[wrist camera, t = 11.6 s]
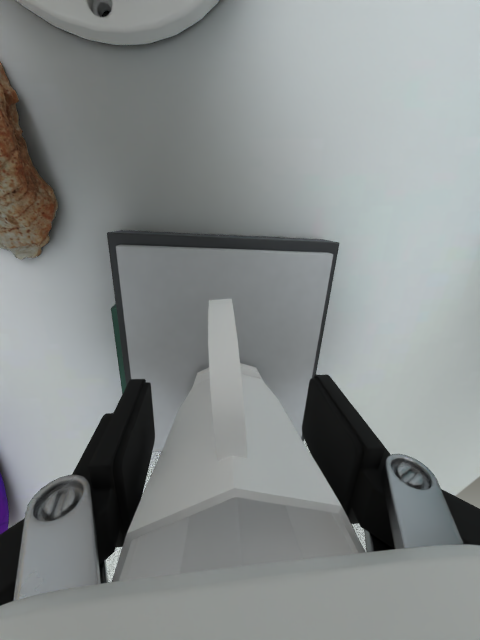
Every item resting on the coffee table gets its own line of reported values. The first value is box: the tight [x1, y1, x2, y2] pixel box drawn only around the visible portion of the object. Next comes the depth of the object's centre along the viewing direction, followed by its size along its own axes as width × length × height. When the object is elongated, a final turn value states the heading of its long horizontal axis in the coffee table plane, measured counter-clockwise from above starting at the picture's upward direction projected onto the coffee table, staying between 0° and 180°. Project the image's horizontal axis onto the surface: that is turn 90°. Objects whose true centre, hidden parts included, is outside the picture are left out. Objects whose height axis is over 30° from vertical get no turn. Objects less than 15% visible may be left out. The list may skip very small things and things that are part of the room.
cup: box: [112, 299, 365, 582], centre depth 10 cm, size 7×10×8 cm
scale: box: [107, 230, 339, 452], centre depth 15 cm, size 13×11×3 cm
